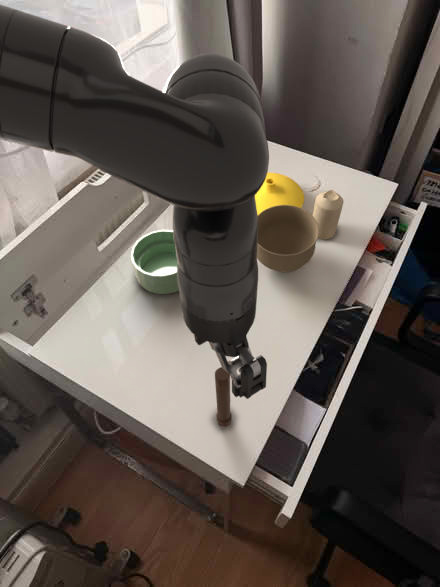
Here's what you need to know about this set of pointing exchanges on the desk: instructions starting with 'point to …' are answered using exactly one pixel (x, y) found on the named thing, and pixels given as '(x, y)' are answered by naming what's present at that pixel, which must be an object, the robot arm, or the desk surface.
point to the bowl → (286, 237)
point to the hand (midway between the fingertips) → (221, 364)
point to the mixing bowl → (156, 262)
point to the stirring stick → (223, 397)
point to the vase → (278, 192)
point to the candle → (327, 213)
